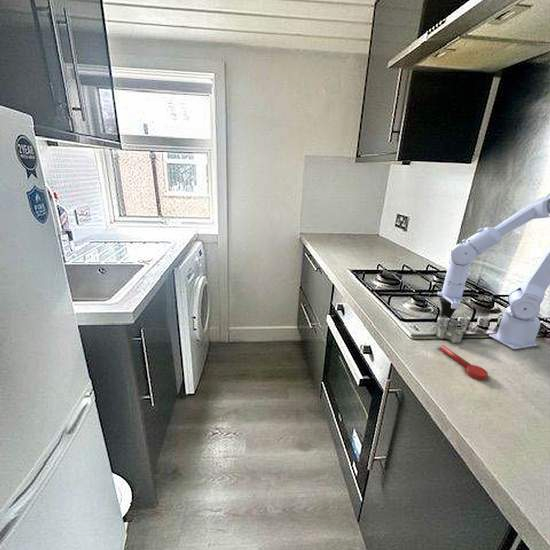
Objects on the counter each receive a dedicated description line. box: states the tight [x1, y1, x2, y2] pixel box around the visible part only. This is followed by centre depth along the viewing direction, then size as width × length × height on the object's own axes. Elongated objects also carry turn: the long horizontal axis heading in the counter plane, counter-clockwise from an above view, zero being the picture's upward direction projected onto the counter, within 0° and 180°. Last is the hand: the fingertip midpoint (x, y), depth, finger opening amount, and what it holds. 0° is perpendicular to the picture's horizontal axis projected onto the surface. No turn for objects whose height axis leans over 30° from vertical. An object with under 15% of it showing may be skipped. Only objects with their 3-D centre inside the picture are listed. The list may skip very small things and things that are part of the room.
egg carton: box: [434, 315, 467, 344], centre depth 93 cm, size 11×8×4 cm
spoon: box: [439, 344, 489, 381], centre depth 79 cm, size 4×14×1 cm, turn 16°
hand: (444, 320), depth 99 cm, fingers closed
